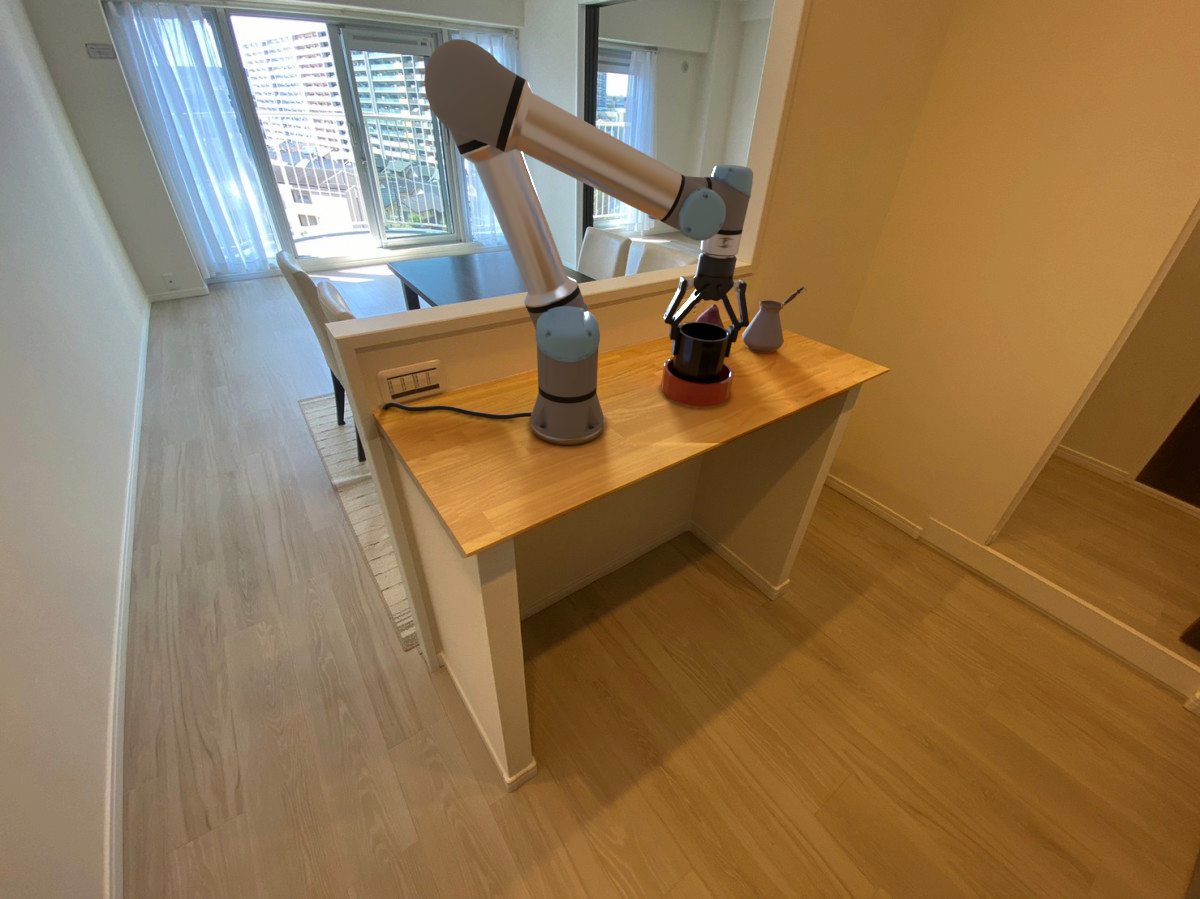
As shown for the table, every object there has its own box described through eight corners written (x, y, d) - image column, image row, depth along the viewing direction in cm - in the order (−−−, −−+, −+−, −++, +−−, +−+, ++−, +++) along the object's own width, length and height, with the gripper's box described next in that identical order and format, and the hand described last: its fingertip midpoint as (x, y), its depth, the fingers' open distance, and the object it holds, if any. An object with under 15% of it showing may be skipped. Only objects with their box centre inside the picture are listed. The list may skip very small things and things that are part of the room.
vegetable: (719, 366, 136) (737, 322, 125) (683, 357, 137) (698, 312, 125) (723, 343, 143) (740, 299, 131) (688, 335, 144) (702, 290, 132)
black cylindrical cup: (676, 393, 109) (684, 343, 102) (667, 365, 121) (674, 318, 114) (725, 395, 110) (737, 345, 103) (711, 367, 122) (721, 320, 115)
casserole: (666, 408, 110) (669, 384, 107) (657, 375, 123) (660, 353, 120) (736, 409, 111) (741, 386, 108) (719, 377, 124) (724, 355, 121)
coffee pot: (765, 359, 134) (779, 305, 125) (731, 345, 141) (742, 293, 132) (807, 342, 145) (823, 291, 137) (774, 329, 152) (787, 280, 144)
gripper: (663, 255, 95) (650, 359, 108) (781, 261, 97) (755, 363, 109) (658, 246, 101) (646, 345, 114) (769, 252, 103) (746, 349, 115)
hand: (699, 354), depth 112 cm, fingers closed on black cylindrical cup, 11 cm apart
